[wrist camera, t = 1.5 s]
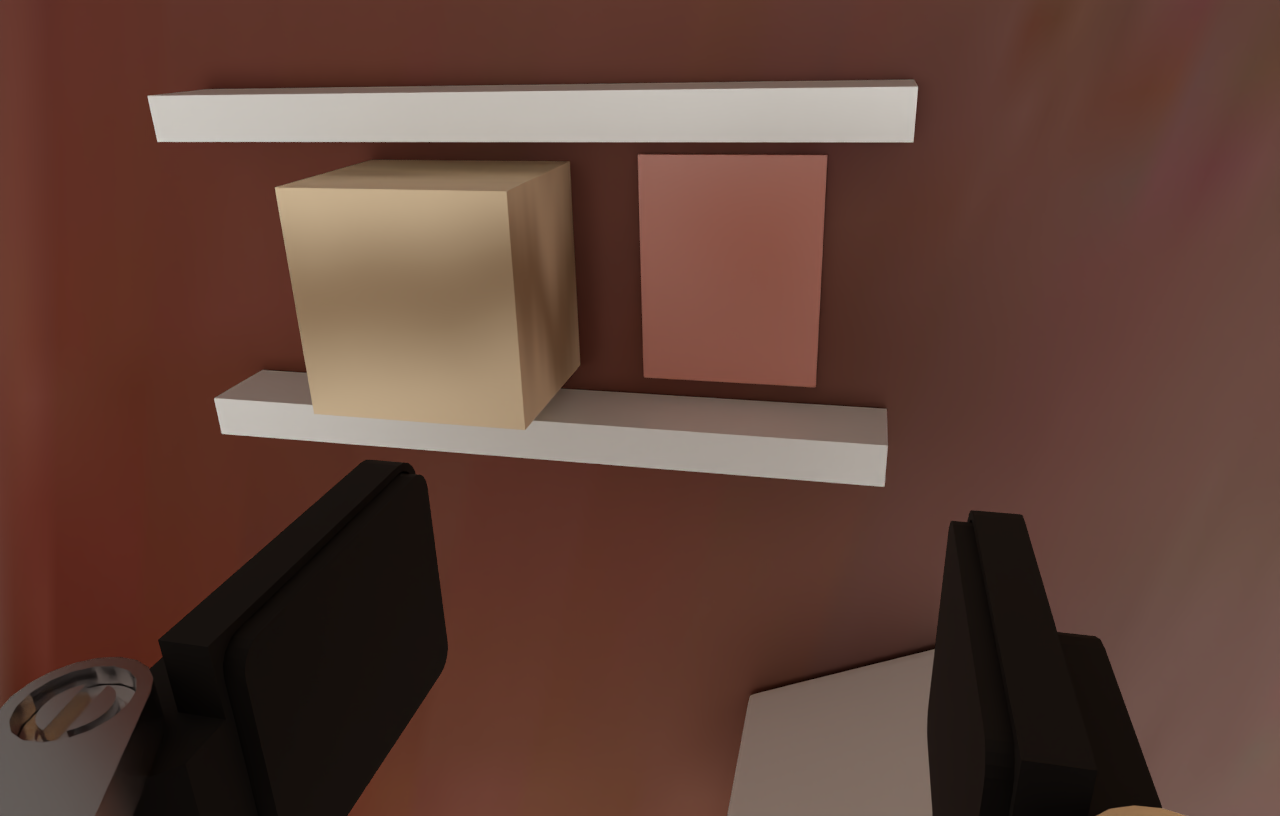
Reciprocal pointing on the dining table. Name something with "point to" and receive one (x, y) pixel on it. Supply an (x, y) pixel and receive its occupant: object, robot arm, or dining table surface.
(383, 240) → the maple block
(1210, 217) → the dining table surface
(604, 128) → the channel
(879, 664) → the milk carton
